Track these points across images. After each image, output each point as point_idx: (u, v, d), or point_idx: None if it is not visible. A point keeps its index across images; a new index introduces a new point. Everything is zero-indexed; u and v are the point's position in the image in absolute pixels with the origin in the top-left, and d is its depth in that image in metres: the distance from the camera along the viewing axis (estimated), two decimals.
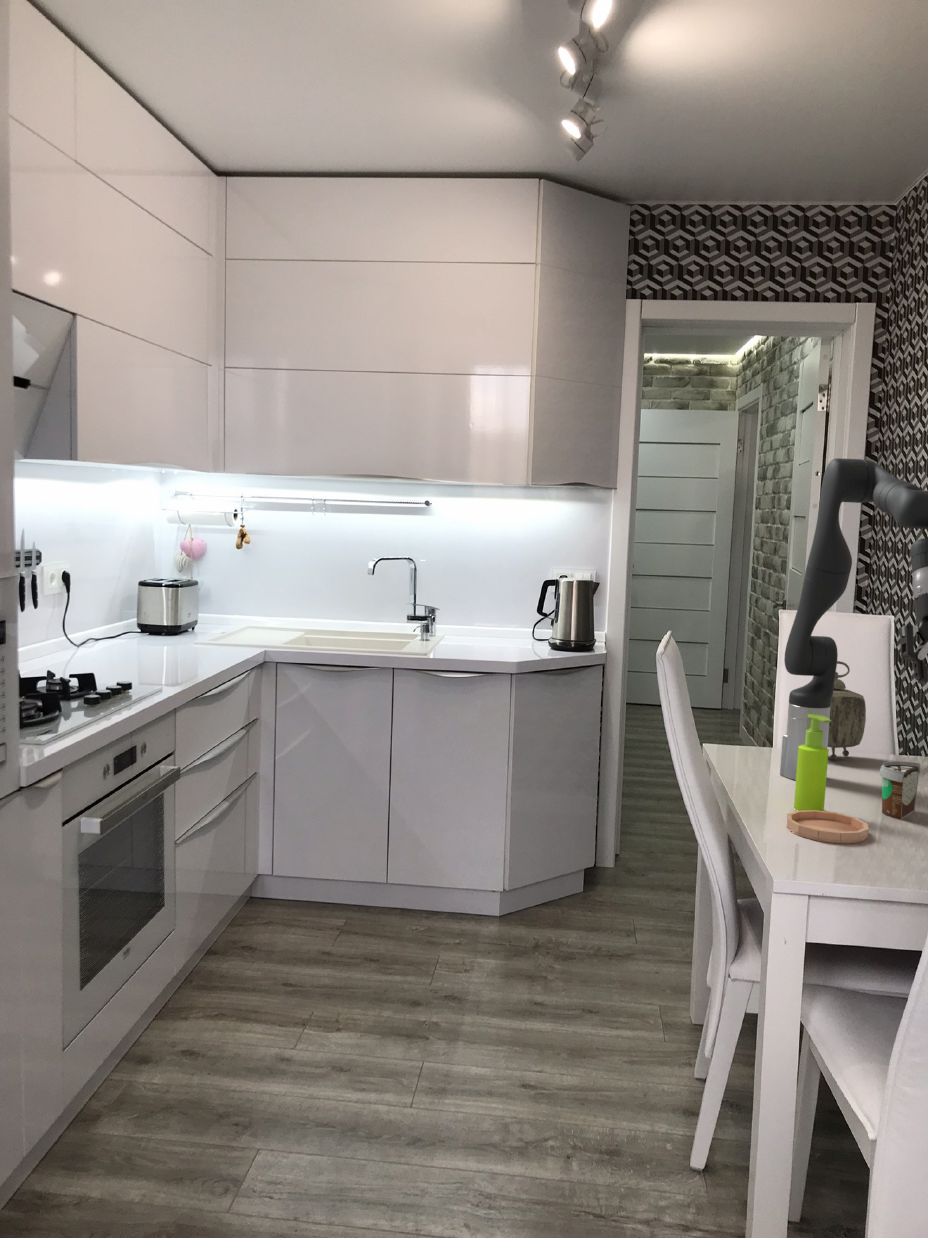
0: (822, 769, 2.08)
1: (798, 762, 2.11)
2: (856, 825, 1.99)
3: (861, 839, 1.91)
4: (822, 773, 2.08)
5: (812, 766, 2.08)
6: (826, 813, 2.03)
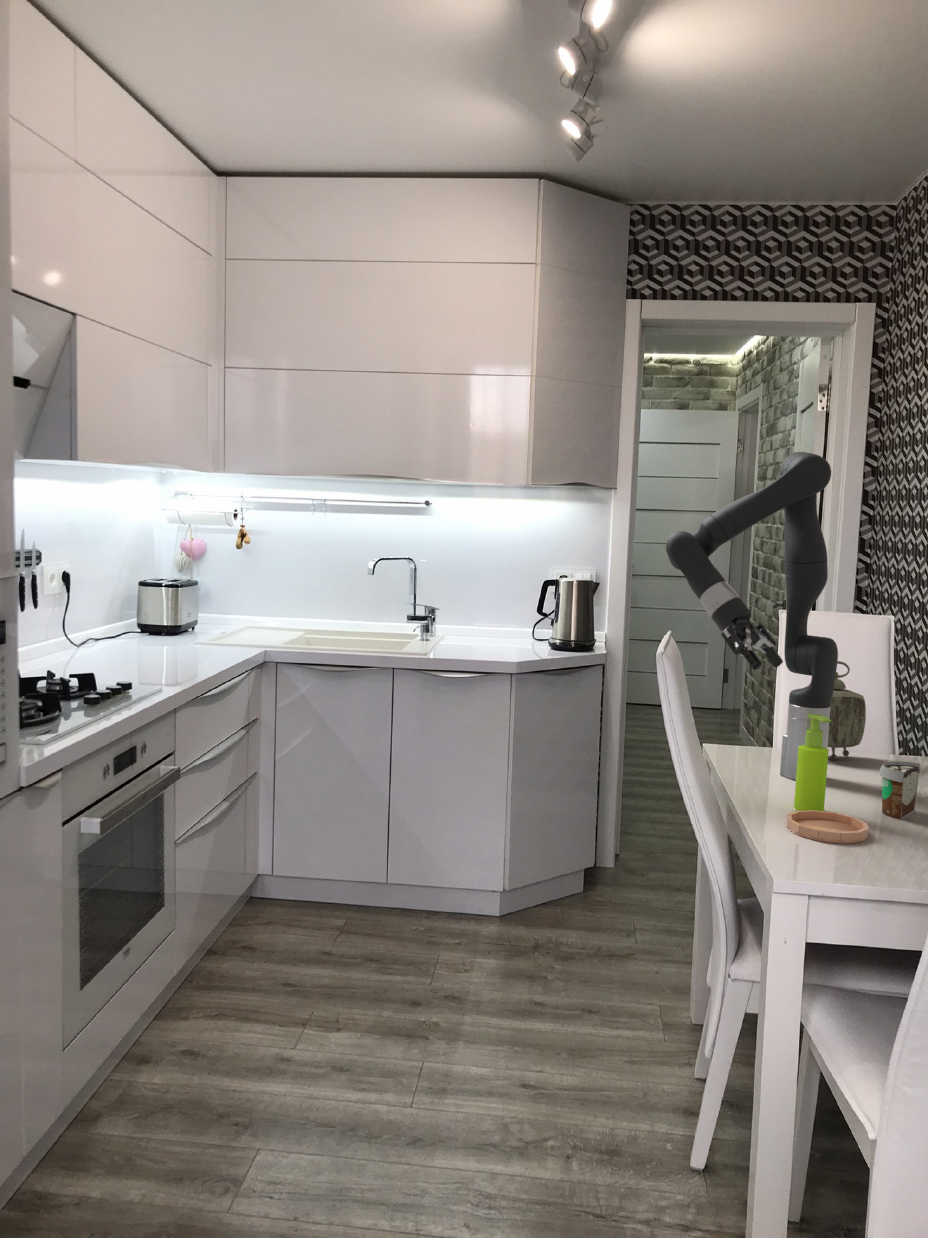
0: (822, 769, 2.08)
1: (798, 762, 2.11)
2: (856, 825, 1.99)
3: (861, 839, 1.91)
4: (822, 773, 2.08)
5: (812, 766, 2.08)
6: (826, 813, 2.03)
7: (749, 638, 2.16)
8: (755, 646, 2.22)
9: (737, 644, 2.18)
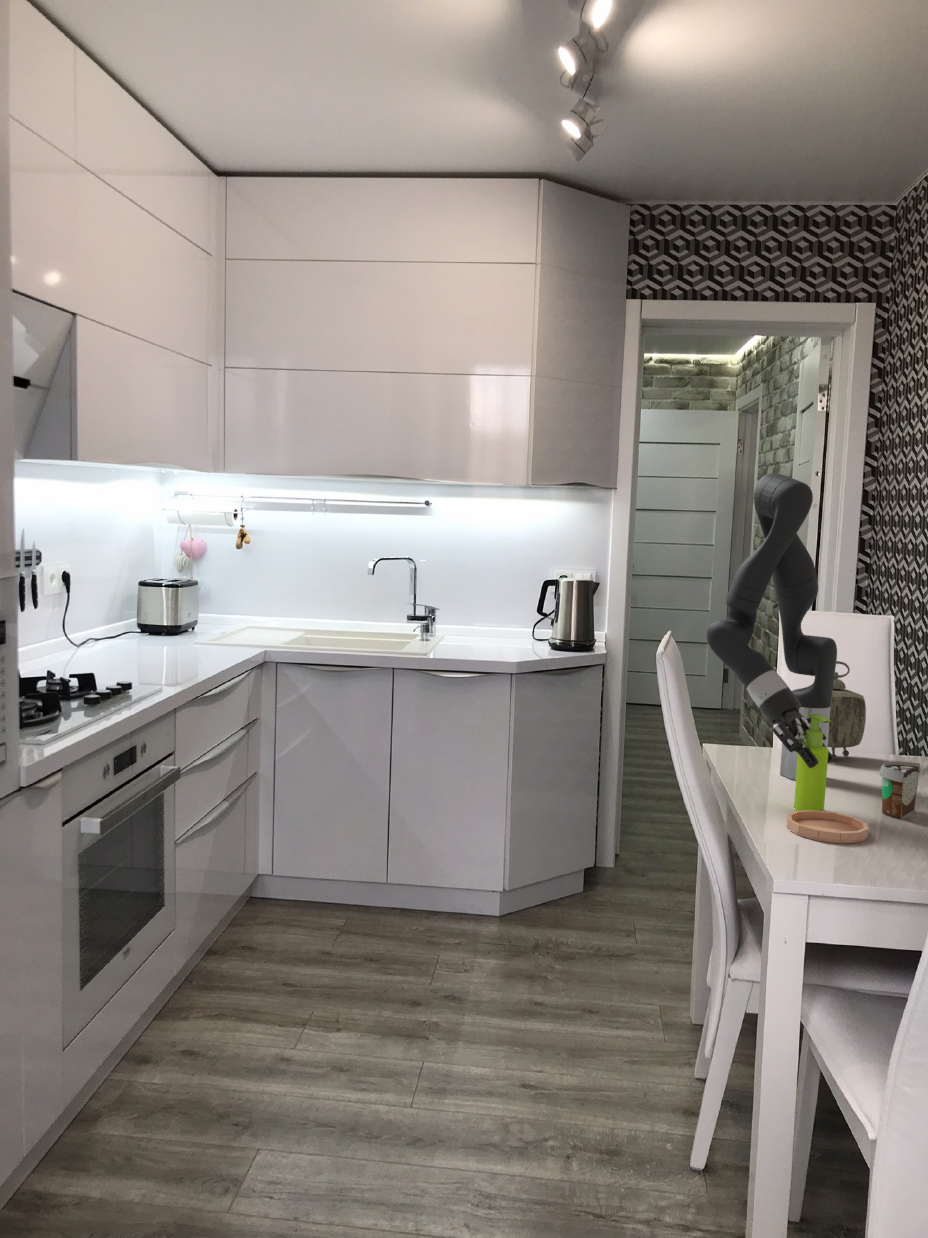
0: (822, 769, 2.08)
1: (798, 762, 2.10)
2: (856, 825, 1.99)
3: (861, 839, 1.91)
4: (822, 773, 2.08)
5: None
6: (826, 813, 2.03)
7: (802, 733, 2.09)
8: (804, 739, 2.14)
9: (789, 739, 2.11)
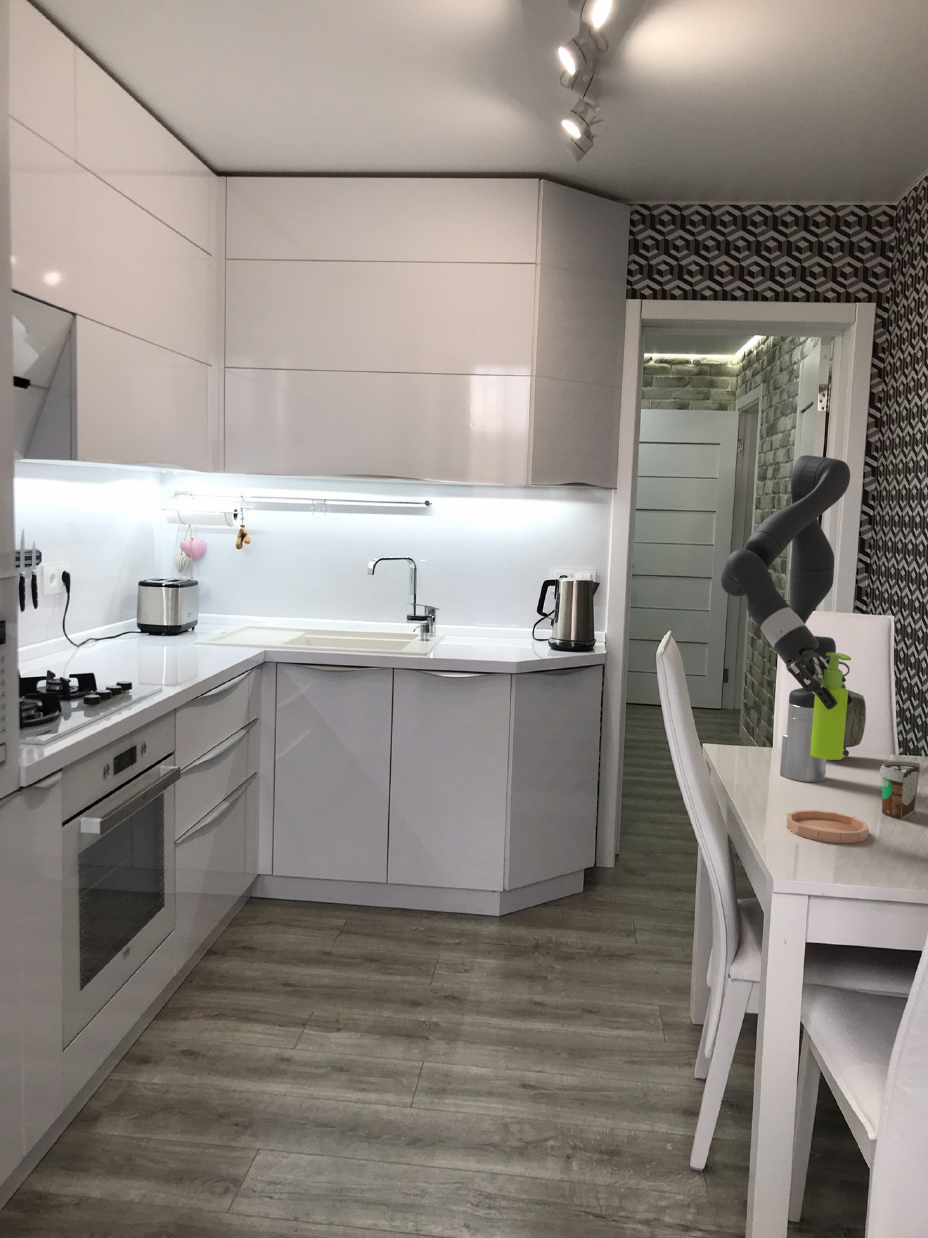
0: (841, 711, 1.93)
1: (815, 704, 1.96)
2: (856, 825, 1.99)
3: (861, 839, 1.91)
4: (841, 716, 1.93)
5: None
6: (826, 813, 2.03)
7: (820, 673, 1.94)
8: None
9: (806, 679, 1.96)
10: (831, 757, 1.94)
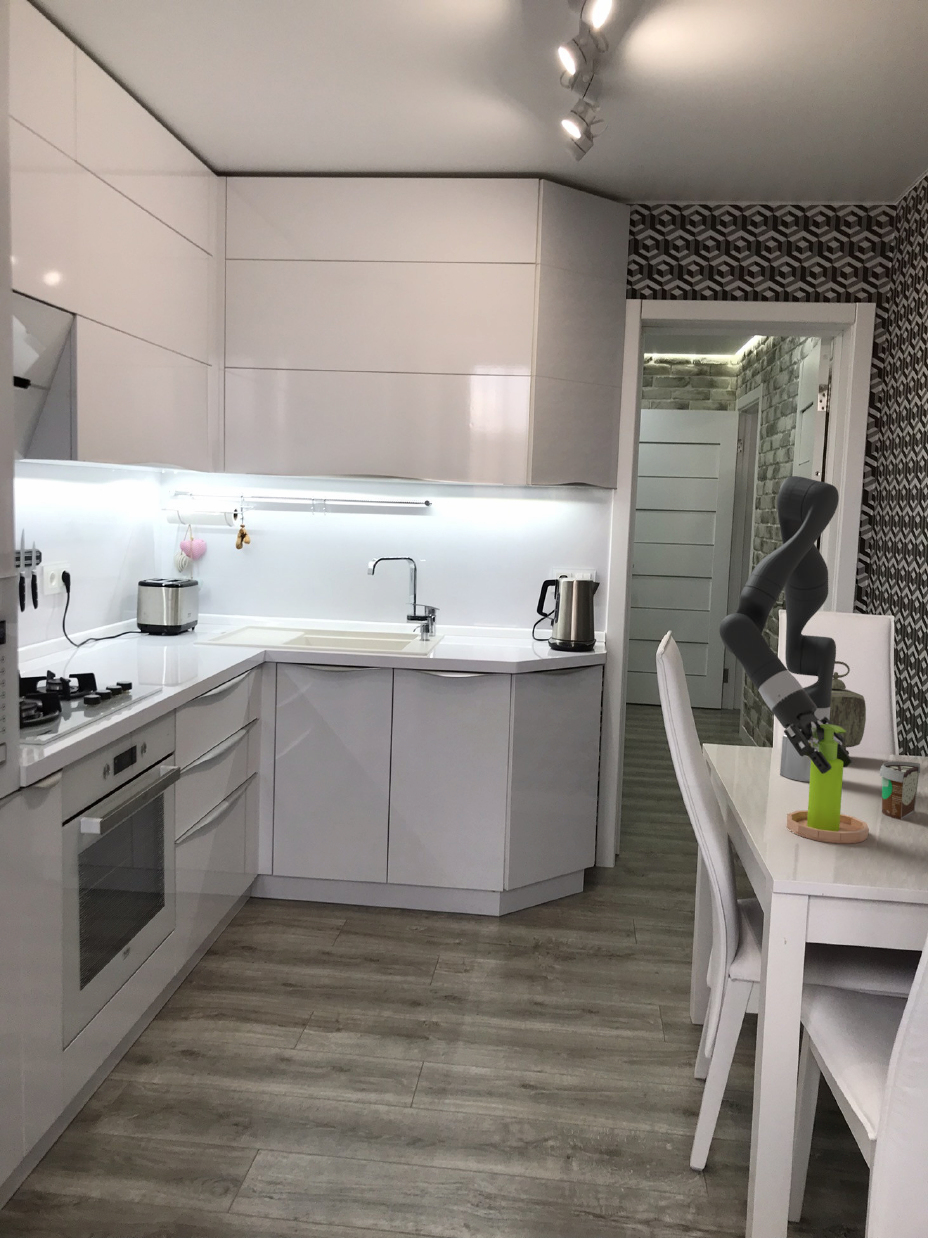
0: (837, 783, 1.94)
1: (811, 776, 1.97)
2: (856, 825, 1.99)
3: (861, 839, 1.91)
4: (837, 787, 1.94)
5: (826, 780, 1.94)
6: None
7: (816, 737, 1.95)
8: None
9: (802, 743, 1.96)
10: (828, 829, 1.95)
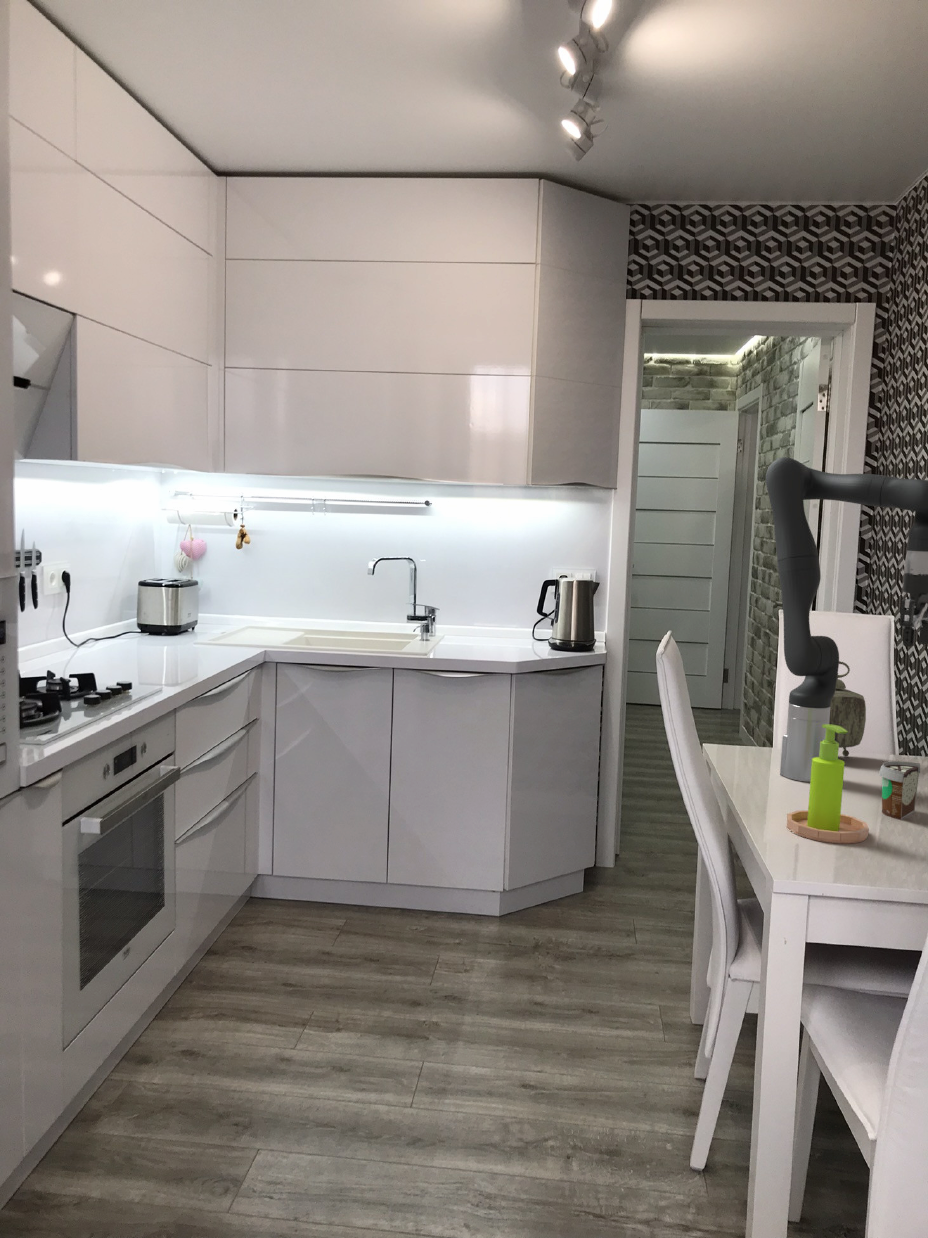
0: (838, 783, 1.94)
1: (812, 776, 1.97)
2: (856, 825, 1.99)
3: (861, 839, 1.91)
4: (838, 788, 1.94)
5: (827, 780, 1.94)
6: None
7: None
8: None
9: None
10: (828, 829, 1.95)
